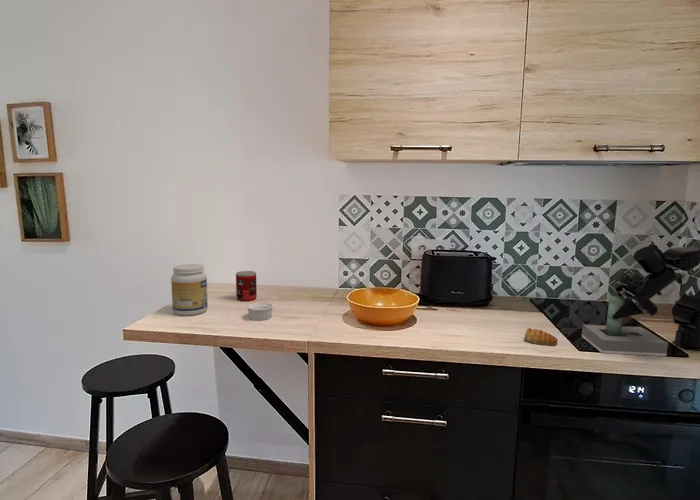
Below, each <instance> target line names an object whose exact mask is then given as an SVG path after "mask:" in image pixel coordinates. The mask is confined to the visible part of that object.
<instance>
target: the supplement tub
mask: <svg viewBox="0 0 700 500" xmlns="http://www.w3.org/2000/svg"><path fill="white" fill-rule="evenodd" d="M172 270H173V274H172V275H171V277H170V281H171V283H170V284H171V300H172V301H171V302H172V305H171V306H172V312H173V313H174V314H175V315H178V316H184V317H187V316H189V317H190V316H196V315H200V314H204V313H205V312H206V311H207V310H208V308H209V305H208V280H207V278H208V277H207V274H206V273H205V272H204V271H205V266H204V265H203V264H200V263H183V264H178V265H175V266H173V269H172Z"/></svg>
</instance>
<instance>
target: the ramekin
mask: <svg viewBox="0 0 700 500" xmlns="http://www.w3.org/2000/svg"><path fill="white" fill-rule="evenodd" d="M246 307H247V311H248V317H249V319H250V320H252V321H256V322H259V321H260V322H261V321H267V320H269V319H271V318H272V316H273V308H274V305H273V303H270V302H255V303H250V304H248V305H247V306H246Z"/></svg>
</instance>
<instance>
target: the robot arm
mask: <svg viewBox="0 0 700 500" xmlns="http://www.w3.org/2000/svg"><path fill="white" fill-rule="evenodd" d="M633 259H634V261H635V262H636V263H637V265H639V266H640V268H641V269H642V270H643V271H644V272H645V273H646V275H645V276H641V275H638V274H635V273H634V272H633V273H631V274H628V273H626V272H624V271H622V270H619V271H618V273H617V274H616V275H615V277H614V280H615V281H617V282H616V283H614V284H613V285H612V288H613V289H614V290H615V296H621V297H624V298H625V303H624V305H623V306H622V307H621V308H620V309H619V310H618V311H617V312H616V313H615V314H614V315H613V316H612V317H613V319H619V318H627V317H630V316H637V315H644V314H647V315H648V316H650V317H654V316H655V315H656V314H658V310H659V309H658V308H659V307H658V306H657V305H656V304H655V303H654V302H653V301H652V300H651V299H652V298H654V297H655V296H657V297H658V296H659V297H660V296H661V295H663V293H662V292H661V291H663V290H664V289H666V288H668V286H669V285H671V284H672V283H674V282H675V283H677V284H678V285H682V284H683V275H684V274H681V273H679V272H676V270H680V271H683V272H688V271H689V272H690V271H691V270H693V269H694V268H697V267H698V266H699V265H700V243H699V244H697V245H694V246H693V245H692V246H686V247H685V246H679V247H673V248H669V249H666V250H665V251H664V252H662V251H661V249H659V246H658V245H657V244H653V243H650V244H649V245H648V246H644V247H641V248H640V249H637V250H636V251H635V252H634V254H633ZM644 311H646V313H645V312H644ZM606 314H607V315H608V310H606ZM671 314H672V315H671V316H672V319H673V323H674V324H675V325H676V324H677V330H676V332H675V336H674V340H672V343H673V344H675V345H677V346H679V347H680V348H682V349H684V350H687V351H688V350H689V351H692V350H693V351H700V290H699V291H698V292H697V293H695V294H693V295H689V294H686V293H685V294H684V293H683V294H682V295H681V297H679V299H678V300H676V301H674V304H673V306H672V308H671Z"/></svg>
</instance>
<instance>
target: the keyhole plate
mask: <svg viewBox="0 0 700 500" xmlns="http://www.w3.org/2000/svg"><path fill="white" fill-rule="evenodd" d="M581 337H582V338H583V340H585V341H587V342H588V343H589V344H590V345H591V346H593V348H595V349H597V351H599V352H600V353H601V354H610V355H612V354H613V355H633V356H637V355H638V356H654V357H655V356H657V357H667V354H668V347H669V343H668V342H667V341H665V340H664V339H662V338H660V337H659V336H657V335H655V334H653V333H652V332H651V331H648V330H647V329H645V328H643V327H642V326H626V325H625V326H623V325H622V328H621V336H607V335H606V325H601V324H599V325H598V324H582V330H581Z"/></svg>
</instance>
